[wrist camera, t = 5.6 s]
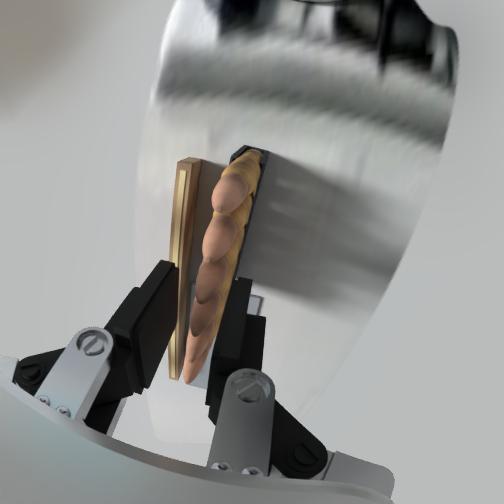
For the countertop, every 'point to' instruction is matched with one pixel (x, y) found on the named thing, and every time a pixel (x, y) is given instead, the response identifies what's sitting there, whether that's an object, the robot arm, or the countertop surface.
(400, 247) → the countertop surface
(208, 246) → the ammunition clip
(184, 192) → the straightedge
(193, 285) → the flat gray rectangular panel
